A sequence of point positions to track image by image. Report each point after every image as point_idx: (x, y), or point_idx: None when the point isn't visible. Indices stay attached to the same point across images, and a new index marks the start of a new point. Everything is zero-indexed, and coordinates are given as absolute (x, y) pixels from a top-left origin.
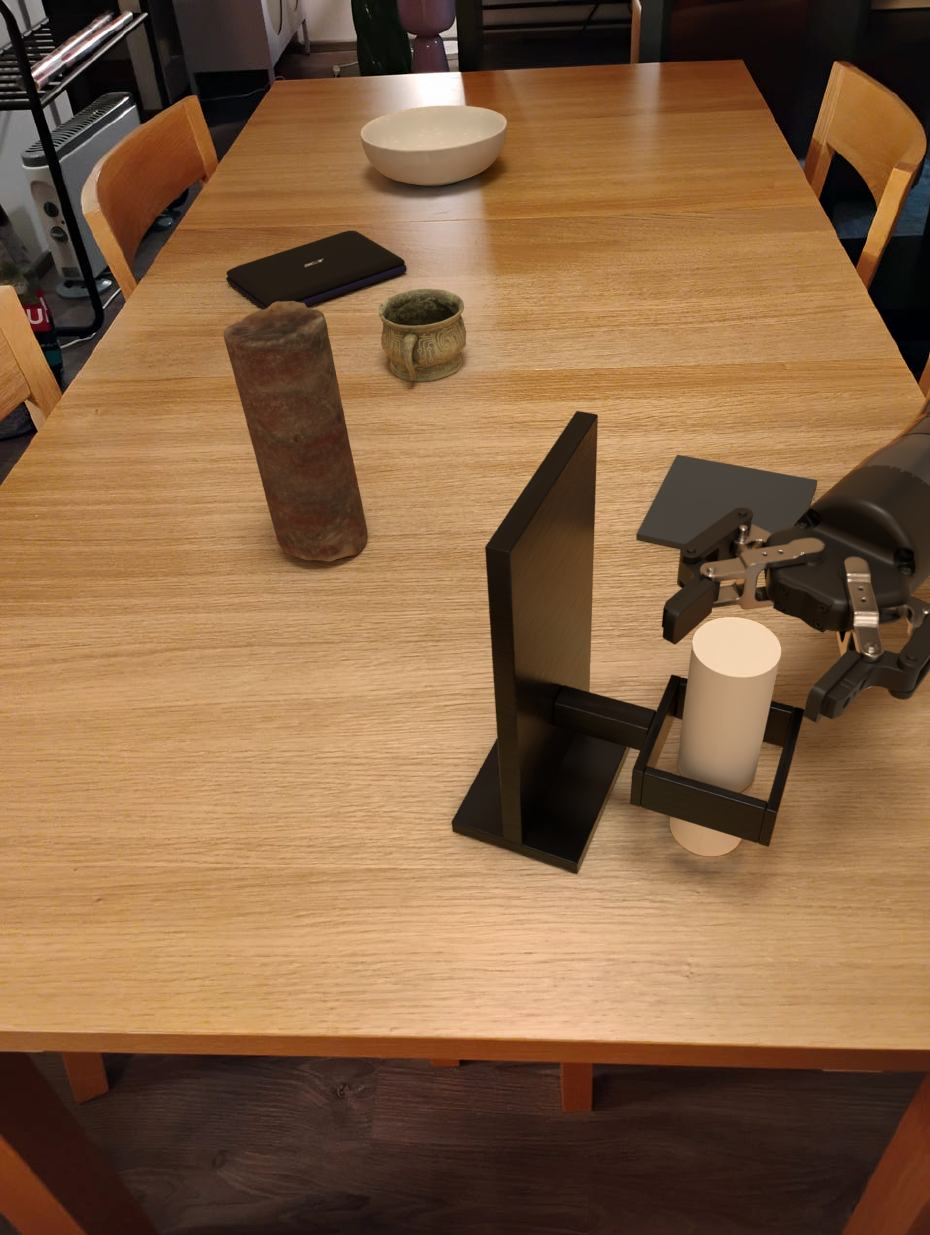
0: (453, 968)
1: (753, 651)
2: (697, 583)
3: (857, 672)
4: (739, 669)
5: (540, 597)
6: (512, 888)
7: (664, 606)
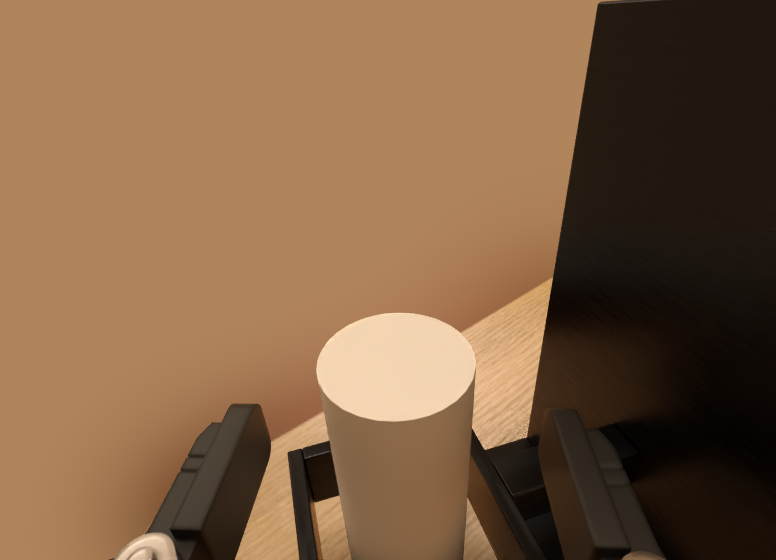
0: (477, 361)
1: (364, 363)
2: (635, 543)
3: (177, 503)
4: (364, 330)
5: (636, 192)
6: (502, 422)
7: (600, 432)
